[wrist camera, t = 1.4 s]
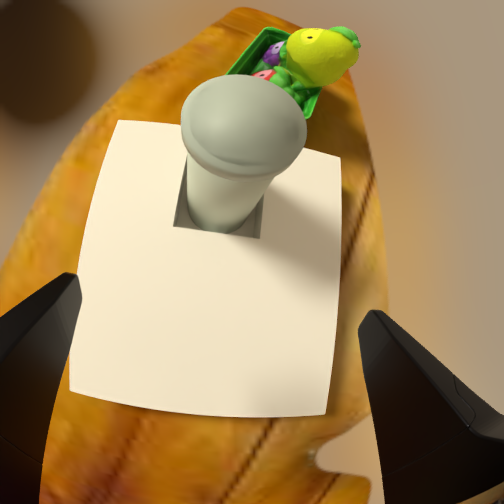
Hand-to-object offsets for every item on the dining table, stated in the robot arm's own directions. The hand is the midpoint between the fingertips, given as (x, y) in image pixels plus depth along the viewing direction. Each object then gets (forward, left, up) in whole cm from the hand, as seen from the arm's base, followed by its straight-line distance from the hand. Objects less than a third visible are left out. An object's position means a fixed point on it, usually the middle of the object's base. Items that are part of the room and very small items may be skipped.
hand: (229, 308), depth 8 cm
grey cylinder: (+5, +5, -13) cm, 15 cm away
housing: (+2, +2, -14) cm, 14 cm away
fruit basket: (+17, +11, -14) cm, 25 cm away
